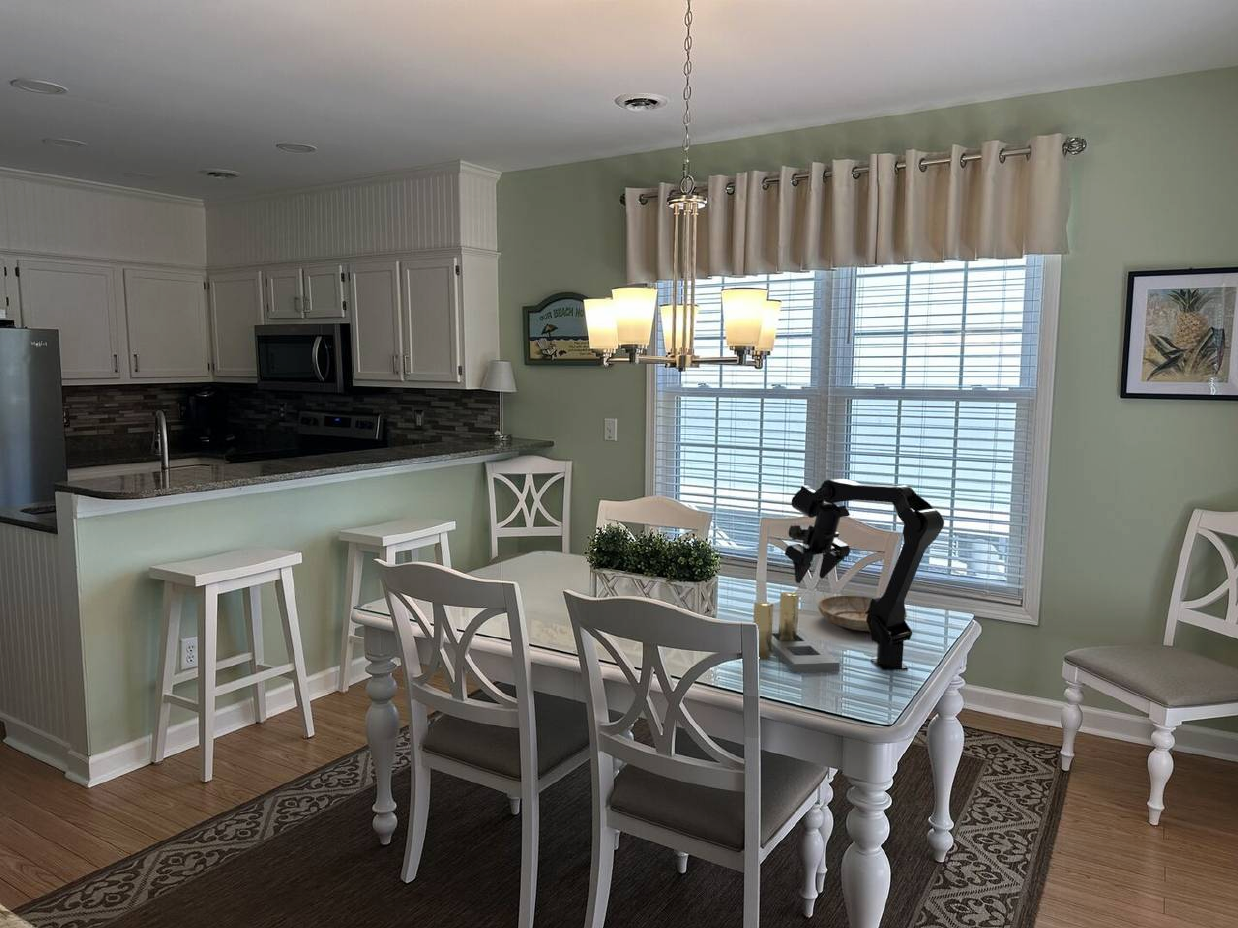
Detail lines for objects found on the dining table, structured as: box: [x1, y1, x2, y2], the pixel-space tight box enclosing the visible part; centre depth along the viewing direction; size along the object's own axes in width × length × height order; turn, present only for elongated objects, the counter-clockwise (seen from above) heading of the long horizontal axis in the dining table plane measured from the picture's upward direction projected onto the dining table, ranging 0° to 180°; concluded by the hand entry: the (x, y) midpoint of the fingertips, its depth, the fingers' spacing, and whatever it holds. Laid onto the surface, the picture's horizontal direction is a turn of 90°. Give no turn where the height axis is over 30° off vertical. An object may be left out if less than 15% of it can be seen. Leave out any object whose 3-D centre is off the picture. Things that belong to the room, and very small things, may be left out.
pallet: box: [771, 629, 841, 674], centre depth 208 cm, size 24×11×2 cm, turn 10°
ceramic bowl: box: [817, 594, 908, 632], centre depth 233 cm, size 23×24×5 cm
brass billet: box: [752, 601, 774, 661], centre depth 205 cm, size 4×4×13 cm
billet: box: [778, 591, 800, 642], centre depth 214 cm, size 4×4×13 cm
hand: (809, 580), depth 220 cm, fingers open, 9 cm apart
